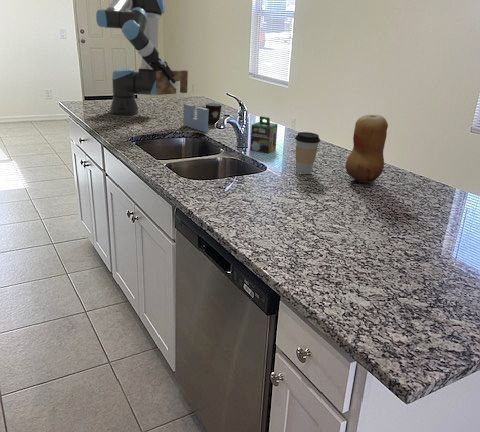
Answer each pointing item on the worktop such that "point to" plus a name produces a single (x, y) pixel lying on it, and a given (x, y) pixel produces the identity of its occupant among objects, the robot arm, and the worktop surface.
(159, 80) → the walnut board
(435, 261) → the worktop surface
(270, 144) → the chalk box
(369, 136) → the butternut squash
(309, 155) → the coffee cup
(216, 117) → the coffee mug
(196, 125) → the slate-blue board
